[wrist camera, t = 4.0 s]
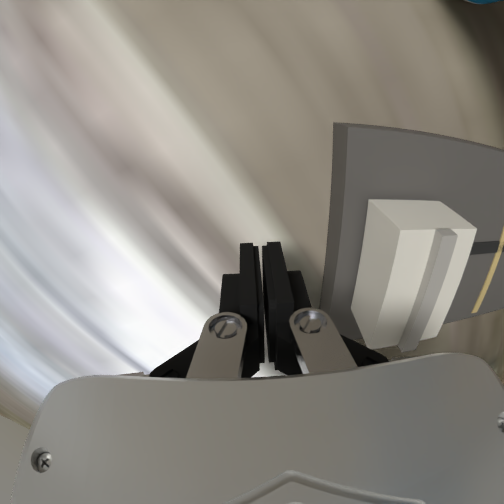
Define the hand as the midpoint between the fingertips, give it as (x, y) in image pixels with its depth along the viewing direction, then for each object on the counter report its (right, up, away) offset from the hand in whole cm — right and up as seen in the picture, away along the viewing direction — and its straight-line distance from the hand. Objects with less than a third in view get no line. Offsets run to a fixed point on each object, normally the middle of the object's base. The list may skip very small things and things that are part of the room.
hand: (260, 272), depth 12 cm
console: (+14, +2, +3) cm, 14 cm away
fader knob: (+7, +1, +1) cm, 7 cm away
